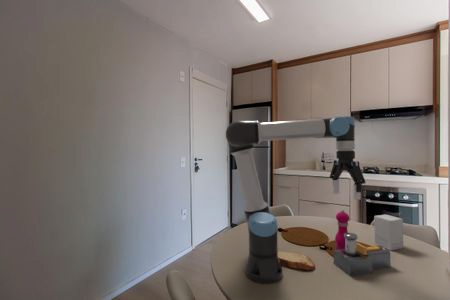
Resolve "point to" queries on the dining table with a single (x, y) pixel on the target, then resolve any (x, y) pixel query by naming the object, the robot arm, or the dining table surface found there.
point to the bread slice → (296, 261)
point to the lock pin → (365, 248)
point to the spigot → (350, 244)
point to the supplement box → (388, 232)
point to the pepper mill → (341, 229)
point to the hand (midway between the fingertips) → (346, 196)
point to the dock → (362, 261)
